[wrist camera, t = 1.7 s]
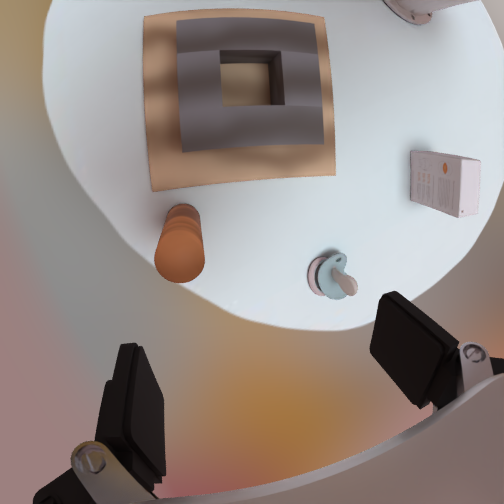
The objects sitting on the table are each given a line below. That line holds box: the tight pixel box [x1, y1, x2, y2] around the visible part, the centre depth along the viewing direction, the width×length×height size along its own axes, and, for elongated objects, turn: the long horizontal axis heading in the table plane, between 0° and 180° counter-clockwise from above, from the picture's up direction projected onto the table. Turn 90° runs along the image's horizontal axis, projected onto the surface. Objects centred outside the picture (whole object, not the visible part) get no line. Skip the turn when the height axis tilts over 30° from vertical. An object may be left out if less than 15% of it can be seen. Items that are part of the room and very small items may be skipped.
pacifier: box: [308, 253, 358, 300], centre depth 36 cm, size 7×6×6 cm
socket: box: [143, 9, 336, 192], centre depth 25 cm, size 22×22×6 cm
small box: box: [411, 151, 481, 218], centre depth 32 cm, size 8×6×10 cm
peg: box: [154, 204, 205, 283], centre depth 27 cm, size 4×4×12 cm
